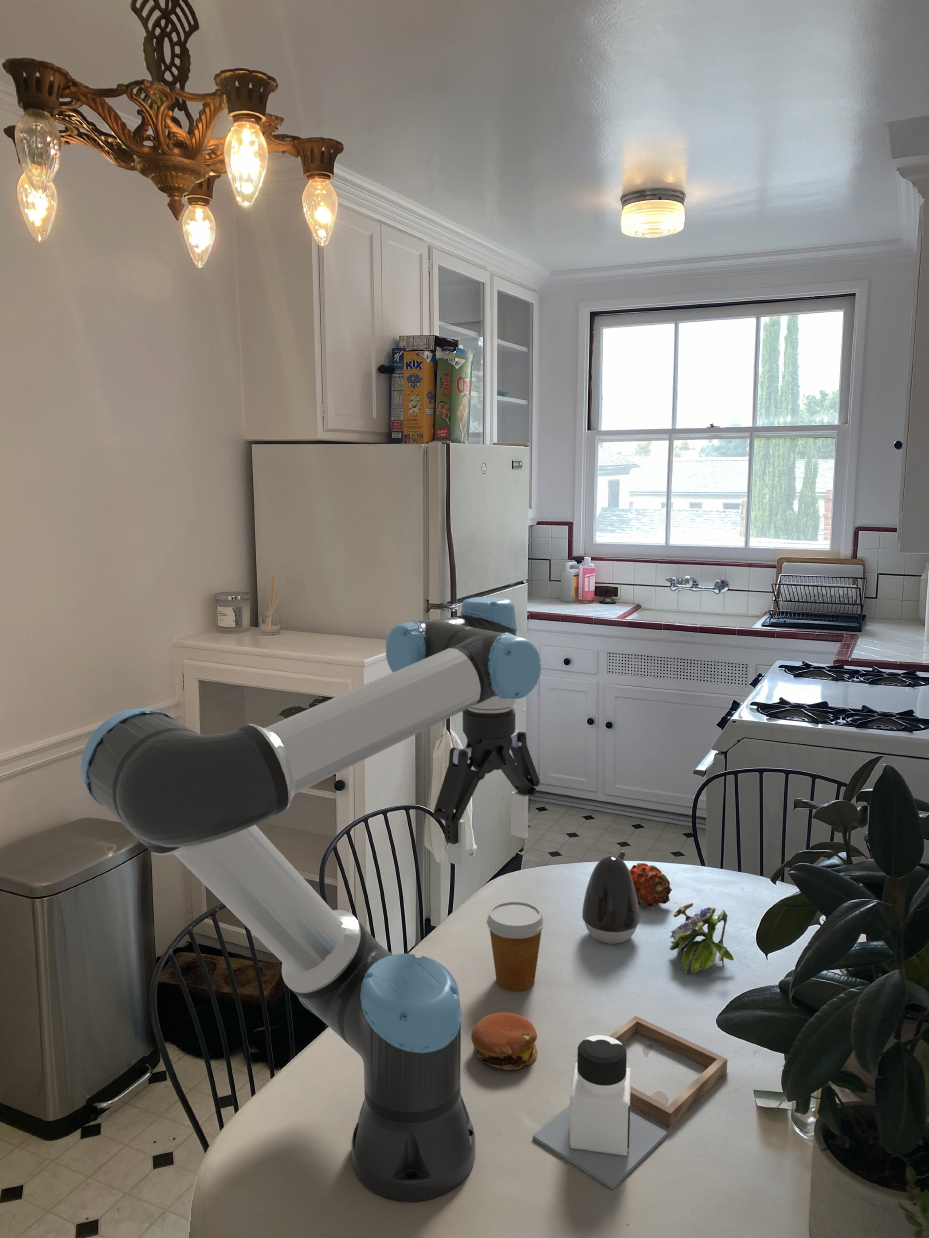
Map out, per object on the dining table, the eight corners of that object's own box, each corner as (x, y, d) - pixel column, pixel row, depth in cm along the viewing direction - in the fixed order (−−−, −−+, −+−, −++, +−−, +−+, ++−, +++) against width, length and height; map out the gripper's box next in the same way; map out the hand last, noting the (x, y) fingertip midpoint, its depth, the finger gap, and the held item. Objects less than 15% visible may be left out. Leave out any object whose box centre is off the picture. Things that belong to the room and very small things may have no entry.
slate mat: (612, 1189, 105) (612, 1185, 105) (532, 1138, 113) (532, 1135, 113) (667, 1135, 114) (667, 1132, 114) (589, 1091, 122) (589, 1088, 122)
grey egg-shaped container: (648, 931, 165) (650, 852, 163) (626, 956, 156) (627, 873, 154) (596, 917, 170) (597, 840, 168) (572, 941, 162) (573, 860, 160)
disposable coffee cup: (515, 1004, 142) (515, 933, 141) (474, 979, 149) (474, 911, 148) (556, 982, 149) (557, 913, 147) (515, 959, 156) (515, 894, 154)
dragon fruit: (672, 922, 172) (617, 912, 180) (686, 884, 176) (633, 876, 184) (654, 896, 167) (600, 887, 175) (670, 858, 172) (616, 850, 180)
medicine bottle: (628, 1157, 109) (630, 1067, 108) (569, 1149, 111) (570, 1060, 109) (629, 1117, 116) (631, 1031, 115) (574, 1110, 118) (575, 1025, 116)
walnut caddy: (670, 1127, 115) (670, 1113, 115) (575, 1075, 125) (575, 1061, 125) (726, 1071, 126) (727, 1058, 126) (635, 1027, 136) (635, 1015, 136)
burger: (482, 1028, 136) (482, 1000, 136) (543, 1038, 134) (543, 1009, 133) (464, 1069, 127) (464, 1039, 126) (529, 1081, 125) (529, 1050, 124)
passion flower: (681, 979, 159) (686, 909, 164) (743, 987, 153) (746, 914, 158) (656, 968, 151) (662, 895, 156) (720, 975, 145) (724, 899, 150)
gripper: (525, 687, 140) (524, 818, 143) (406, 719, 122) (408, 868, 125) (563, 695, 134) (562, 831, 138) (445, 729, 117) (447, 884, 120)
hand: (489, 849), depth 131 cm, fingers open, 13 cm apart
